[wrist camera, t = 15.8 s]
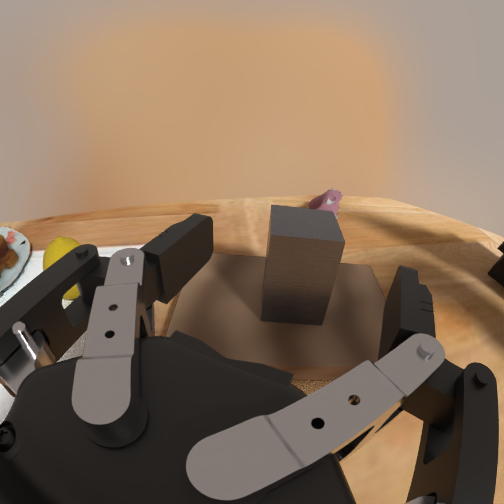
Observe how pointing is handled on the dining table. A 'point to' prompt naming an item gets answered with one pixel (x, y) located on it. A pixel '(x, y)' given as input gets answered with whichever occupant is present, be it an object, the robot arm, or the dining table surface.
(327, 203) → the video game controller
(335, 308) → the flat brown board
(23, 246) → the food on plate
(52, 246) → the lemon
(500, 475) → the dining table surface
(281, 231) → the dark grey box
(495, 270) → the decorative tree
